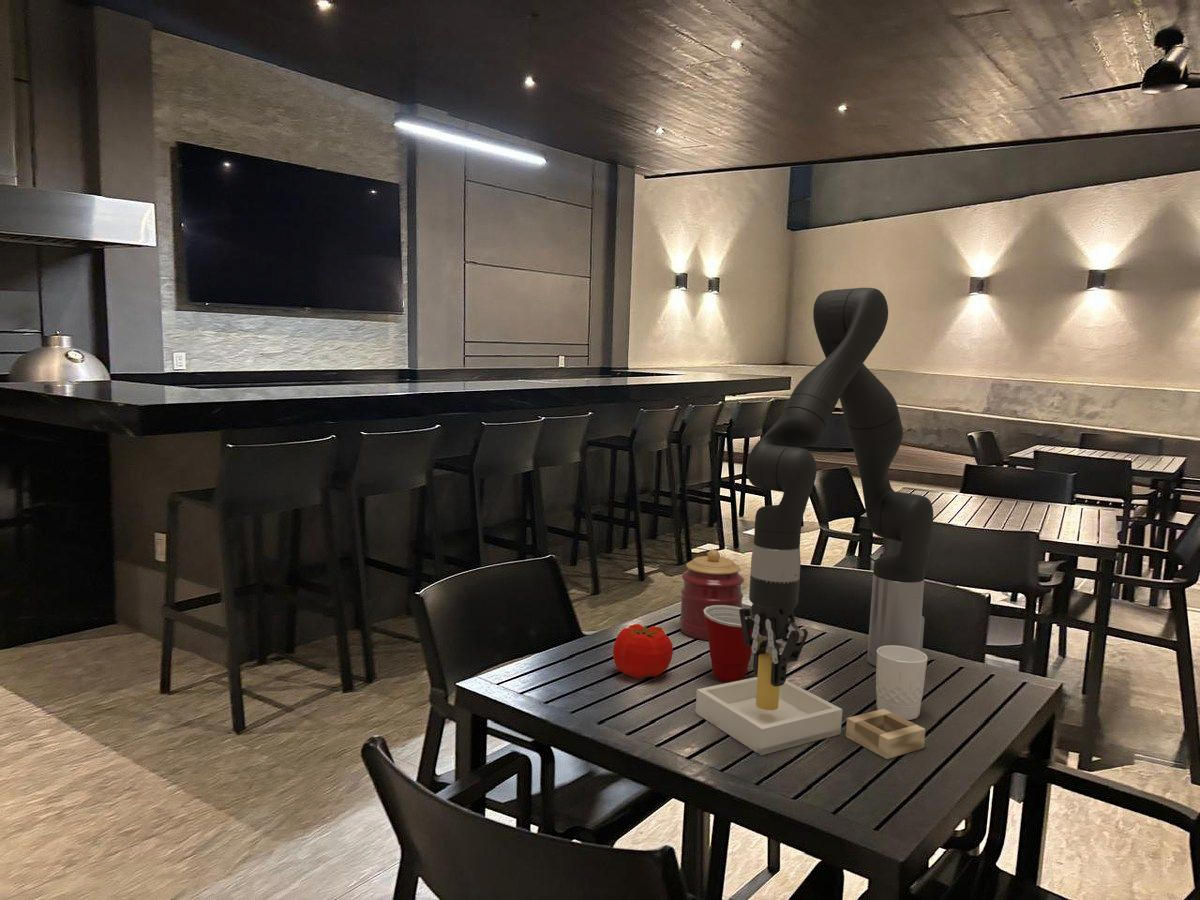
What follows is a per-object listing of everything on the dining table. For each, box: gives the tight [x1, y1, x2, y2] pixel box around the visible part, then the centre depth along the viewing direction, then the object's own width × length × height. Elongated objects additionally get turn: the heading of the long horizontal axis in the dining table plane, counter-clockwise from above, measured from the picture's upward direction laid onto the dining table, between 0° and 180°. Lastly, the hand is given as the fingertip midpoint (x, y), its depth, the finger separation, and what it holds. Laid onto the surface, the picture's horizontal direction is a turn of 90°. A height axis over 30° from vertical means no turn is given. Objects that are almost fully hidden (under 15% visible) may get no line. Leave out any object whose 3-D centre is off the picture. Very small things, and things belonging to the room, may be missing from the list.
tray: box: [695, 676, 843, 756], centre depth 131 cm, size 16×16×4 cm
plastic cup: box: [704, 605, 753, 683], centre depth 149 cm, size 11×11×12 cm
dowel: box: [756, 652, 780, 710], centre depth 130 cm, size 4×4×8 cm
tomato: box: [612, 623, 674, 679], centre depth 150 cm, size 11×11×9 cm
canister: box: [679, 549, 745, 641], centre depth 174 cm, size 13×13×18 cm
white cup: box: [875, 645, 929, 721], centre depth 137 cm, size 8×8×10 cm
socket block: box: [845, 709, 926, 760], centre depth 126 cm, size 8×8×3 cm
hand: (768, 680), depth 130 cm, fingers closed on dowel, 3 cm apart
